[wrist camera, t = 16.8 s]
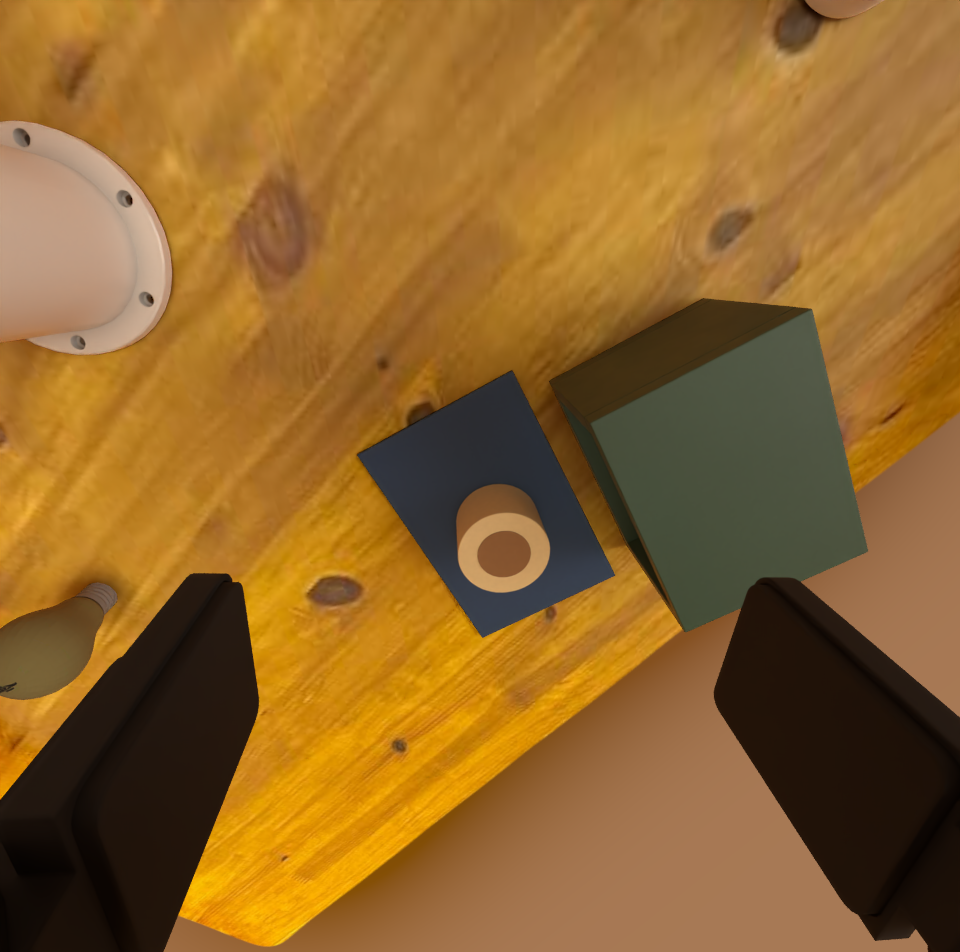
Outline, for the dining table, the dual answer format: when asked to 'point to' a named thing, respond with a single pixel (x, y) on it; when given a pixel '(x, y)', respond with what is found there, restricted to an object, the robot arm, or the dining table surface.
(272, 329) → the dining table surface
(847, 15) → the bath foam
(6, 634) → the light bulb
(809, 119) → the dining table surface
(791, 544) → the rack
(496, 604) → the mat
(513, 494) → the tape
